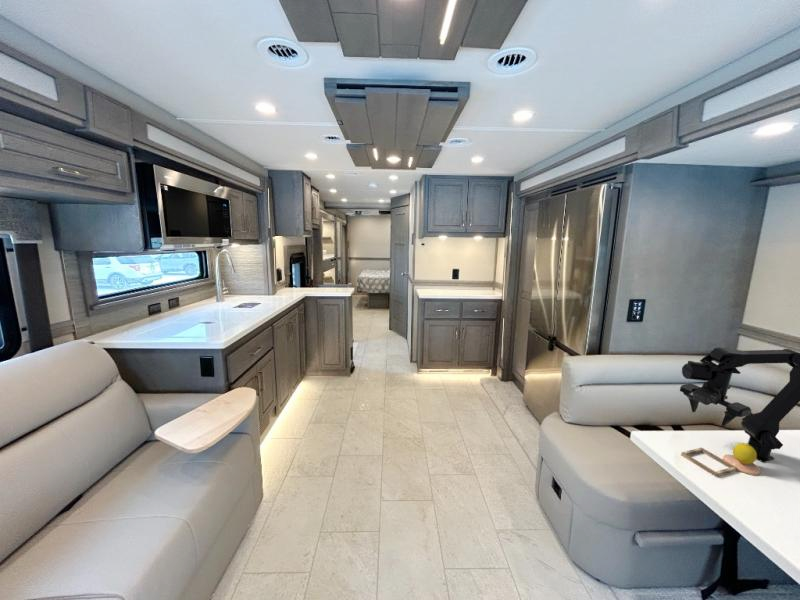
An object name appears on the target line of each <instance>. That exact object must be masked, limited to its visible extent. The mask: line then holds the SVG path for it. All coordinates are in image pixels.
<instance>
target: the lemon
mask: <svg viewBox="0 0 800 600" xmlns="http://www.w3.org/2000/svg"><path fill="white" fill-rule="evenodd" d="M732 455H734V457H735V458H736V459H737V460H738V461H739V462H740V463H742V464H744V463H745V464H751V463H754V462H756V460H757V459H756V457H757V454H756V451H755V449H754V448H753V447H752V446H750V445H749V444H748V442H746V443H744V442H742V443H741V442H740V443H737V444H735V445H734V447H733V449H732Z"/></svg>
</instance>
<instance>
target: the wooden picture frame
mask: <svg viewBox="0 0 800 600" xmlns="http://www.w3.org/2000/svg"><path fill="white" fill-rule="evenodd" d="M700 453H703V454H704V455H707V456H709V457H710V458H712V459H713V460H715V461H717V462H718V463H720V464H722V465H724V466H725V467H727V468H724V469H721V470H717V471H716V470H714V469H712V468H711V467H708V466H707V465H705V464H704V463H702V462H700V461H699V460H697V459H695V458H694V457H692V456H691V455H696V454H700ZM680 456H681V457H683V458H685V459H687V460H688V461H690V462H691V463H692V464H694V465H696V466H697V467H699V468H700V469H703V470H704V471H706V472H707V473H709V474H710V473H711V474H710V475H712V476H714V477H715V478H717V477H720V476H721V477H722V476H723V475H724V476H725V475H727V474H731V473H735V472H738V471H737V467H735V466H733V465H732V464H730V463H728V462H726V461H725V460H723V458H721V457H720V456H717V455H715V454H714V453H712V452H711V451H709V450H707V449H705V448H704V447H697V448H694V449H690V450H685V451H682V452H681V454H680Z"/></svg>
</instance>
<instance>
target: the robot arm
mask: <svg viewBox="0 0 800 600" xmlns="http://www.w3.org/2000/svg"><path fill="white" fill-rule="evenodd" d="M752 364H753V365H755V364H757V365H758V364H787V365H789V366H790V367H791V370H790V371H789V381H788V382H787V383H786V384H785V386H784V387H783V388H782V389H781V390H780V391H779V392H778V393H777V394H776V395H775V396H774V397H773V399H772V400H770V402H768V404H767V405H765V406H764V407H763V409H762V410H761V411H759V412H755V413H752V409H751V407H750V406H747V405H746V404H743V403H740V402H738V401H737V402H732V403H731V402H729V401H727V400H728V397H729V396H728V395H727V393H728V390H730V389H731V387H732V386H731V385H730V382H731V379H732V376H733V374H736V375H738V374H739V375H740V374H741V372H740V371H739V370H738V369H737V368H740V367H741V368H742V367H745V366H746V365H752ZM681 373H682V376H683V378H684V379H686V380H695V381H702V382H703V381H704V382H703V383H702V385H701V386H699V385H696V384H695V383H694V384H693V383H685V384H682V385H680V388H679V391H680V392H681V393H683V395H684V396H685V397H686V398H687V399H688V401H689V404H690V408H691V412H692V413H696V412H697V409H698V406H699V404H700V403H701V404H702V405H705V406H709V405H711V404H713V405H715V406H716V405H718V404H719V405H721V406H722V407H725V410H724V417H723V419H722V421H721V427H726V426H727V425H729V423H730V422H732V420H733V419H735V418H741V427H742V429H743V430H744V433H745V434H747V435H748V436H749V438H748V441H747V444H749V445H750V446H752V447H753V448H754V449H755V451H756V454H757V457H756V460H758V461H760V462H761V463H766V462H769V461H772V460H775V457H774V456H772V455H771V452H772V450H780V449H781V448H782V447H783V446H784V444H783V443H782V441H780V440H779V439H778V438H777V435H778V434H779V433H780V422H781V421H783V420H784V418H785V417H787V415H788V414H789V413H790V412H791V411H793V409H794V408H795V407H796V406H797V405H798V404H799V402H800V352H798V351H796V350H794V349H791V348H784V349H763V350H761V349H760V350H759V349H757V350H741V349H735V348H729V347H721V346H719V347H714V348H713V350H711V351H710V352H709V353H708V354H706V355H705V356H704V357H703V358H701V359H699V361H693V360H688V361H687V363H685V364H684V365H682V367H681Z"/></svg>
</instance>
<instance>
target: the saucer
mask: <svg viewBox="0 0 800 600" xmlns="http://www.w3.org/2000/svg"><path fill="white" fill-rule="evenodd" d="M722 459H723V460H725V461H726V462H728V463H730V464H732V465H733V466H735V467H737V471H736V472H739V473H743V474H745V475H749V476H759V475H761V469H760V468H759V466H758V465H756V464H755V463H754V462H753V463H751V464H745V463H744V464H742V463H740V462H739V461H738V460H737V459H736V458H735V457H734V455H733V454H724V455H723V456H722Z"/></svg>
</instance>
